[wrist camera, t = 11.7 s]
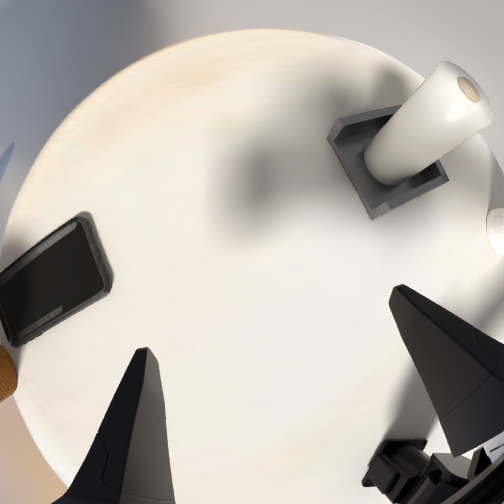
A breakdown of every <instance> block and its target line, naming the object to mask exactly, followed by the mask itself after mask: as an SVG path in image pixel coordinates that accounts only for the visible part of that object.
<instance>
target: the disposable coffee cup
mask: <svg viewBox="0 0 504 504" xmlns="http://www.w3.org/2000/svg"><path fill="white" fill-rule="evenodd" d="M16 387H17V376H16V371H15V368H14V365H13V362H12V360H11V358H10V356H9V354H8V353H7V351H6V350H5V349H4V348H3V347H2V346H1V345H0V402H1V401H3V400H4V399H6V398H7V397H9V396H10V395H12V394H13V393H14V392H15V390H16Z"/></svg>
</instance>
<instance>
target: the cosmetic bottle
mask: <svg viewBox="0 0 504 504" xmlns="http://www.w3.org/2000/svg"><path fill="white" fill-rule="evenodd" d="M487 234H488V238H489V241H490V244H491V246H492V247H493V249H494V250H495V251H496V252H497V253H499V254H504V208H497V209H492V210H491V211H490V212H489V214H488V216H487Z"/></svg>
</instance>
